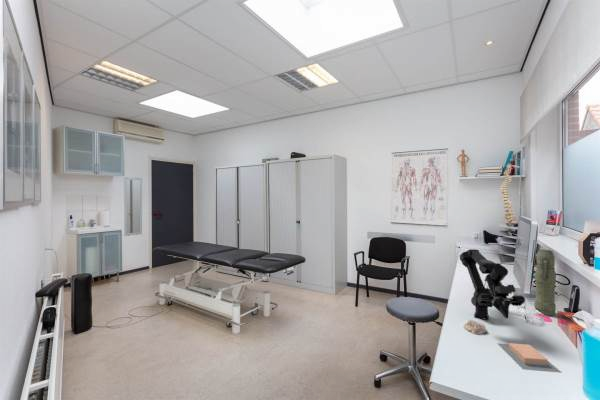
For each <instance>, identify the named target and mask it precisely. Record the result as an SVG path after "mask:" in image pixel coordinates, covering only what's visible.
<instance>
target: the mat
mask: <svg viewBox="0 0 600 400" xmlns="http://www.w3.org/2000/svg"><path fill="white" fill-rule="evenodd" d="M496 344H497V345H498V347H500V348H501V349H502V350H503V351H504V353H506V354H507V355H508V356H509V357H510V358H511V359H512V360H513V361H514V362H515V363H516V364H517V365H518V366H519V367H520V368H521V369H522V370H525V371H527V370H528V371H539V372H550V373H562V371H561V370H559V369H558V368H557V367H556V366H555V365H554V364H553V363H551V362H550V361H549V360H548V366H540V365H528V364H524V363H523V362H522V361H521V360H520V359H519V358H518V357H516V356H515V355H514V354H513V353H512V352H511V351H510V350H509V343H500V342H497V343H496Z"/></svg>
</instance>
